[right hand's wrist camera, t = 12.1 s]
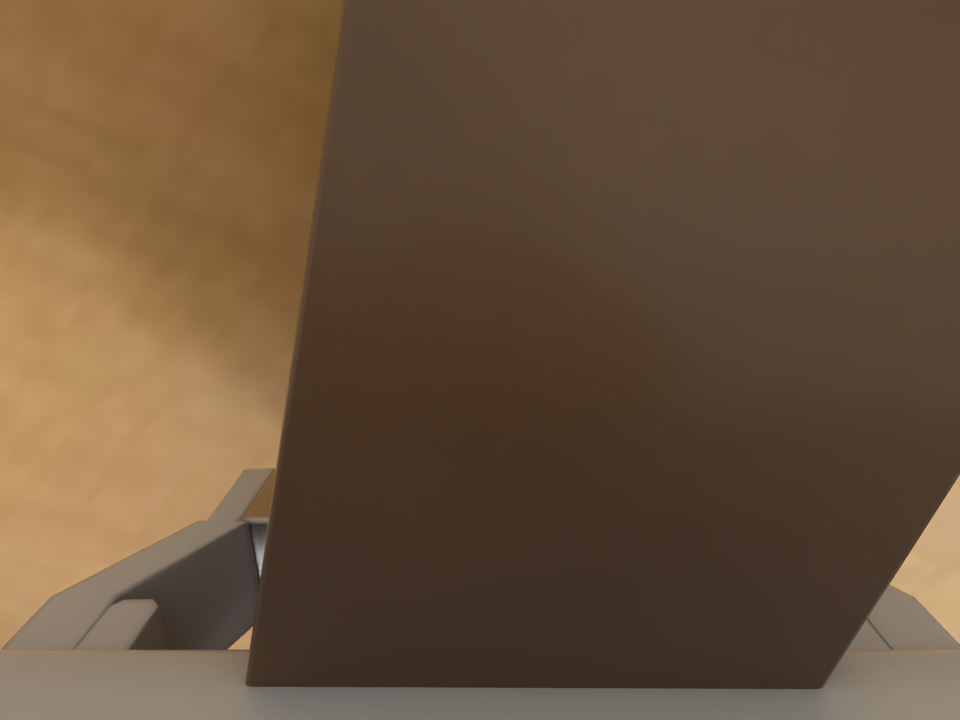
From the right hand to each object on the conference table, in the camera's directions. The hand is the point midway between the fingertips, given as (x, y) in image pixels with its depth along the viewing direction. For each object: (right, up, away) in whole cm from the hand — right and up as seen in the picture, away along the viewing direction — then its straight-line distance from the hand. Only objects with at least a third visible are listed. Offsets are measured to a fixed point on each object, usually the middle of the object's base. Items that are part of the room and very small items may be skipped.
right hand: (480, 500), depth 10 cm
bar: (+2, +8, +1) cm, 9 cm away
